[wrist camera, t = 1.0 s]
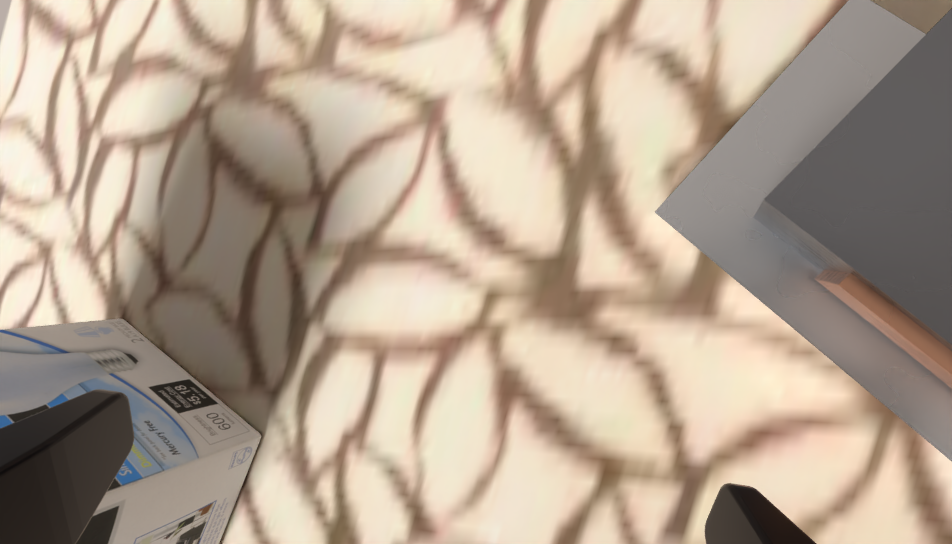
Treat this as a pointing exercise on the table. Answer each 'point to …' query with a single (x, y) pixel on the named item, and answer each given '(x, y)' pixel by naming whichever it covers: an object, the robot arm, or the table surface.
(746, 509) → the robot arm
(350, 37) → the table surface
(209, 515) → the light bulb box
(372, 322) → the table surface
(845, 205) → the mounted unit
